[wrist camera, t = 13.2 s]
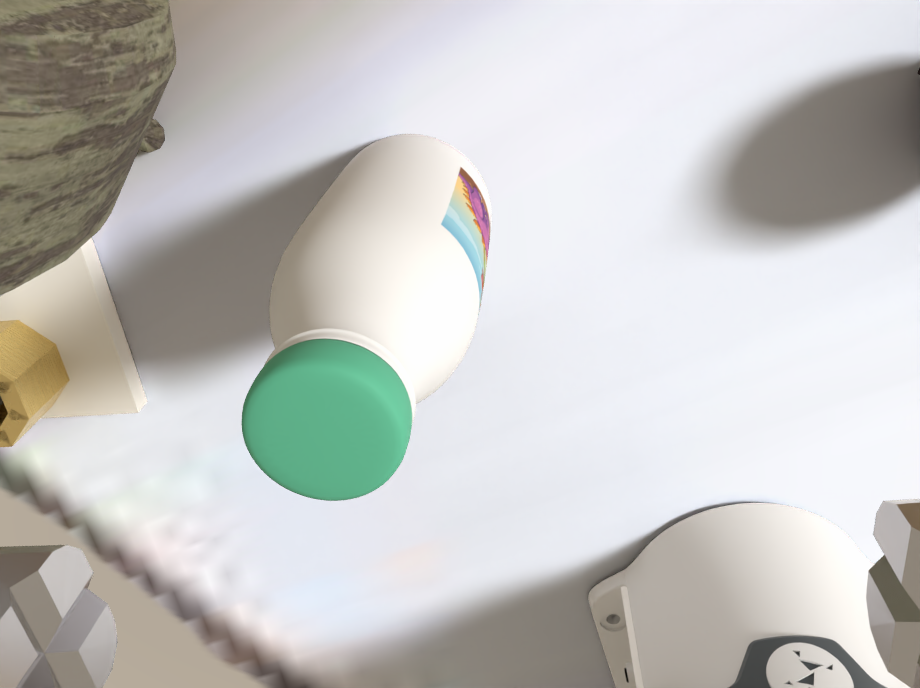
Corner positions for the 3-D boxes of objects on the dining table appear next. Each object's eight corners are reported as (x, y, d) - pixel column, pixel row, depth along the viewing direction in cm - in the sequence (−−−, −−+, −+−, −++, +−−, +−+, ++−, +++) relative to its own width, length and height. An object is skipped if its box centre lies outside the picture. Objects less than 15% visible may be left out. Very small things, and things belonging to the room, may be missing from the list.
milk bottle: (317, 246, 40) (151, 492, 22) (367, 103, 37) (218, 260, 19) (456, 303, 41) (403, 583, 23) (518, 170, 37) (512, 379, 20)
